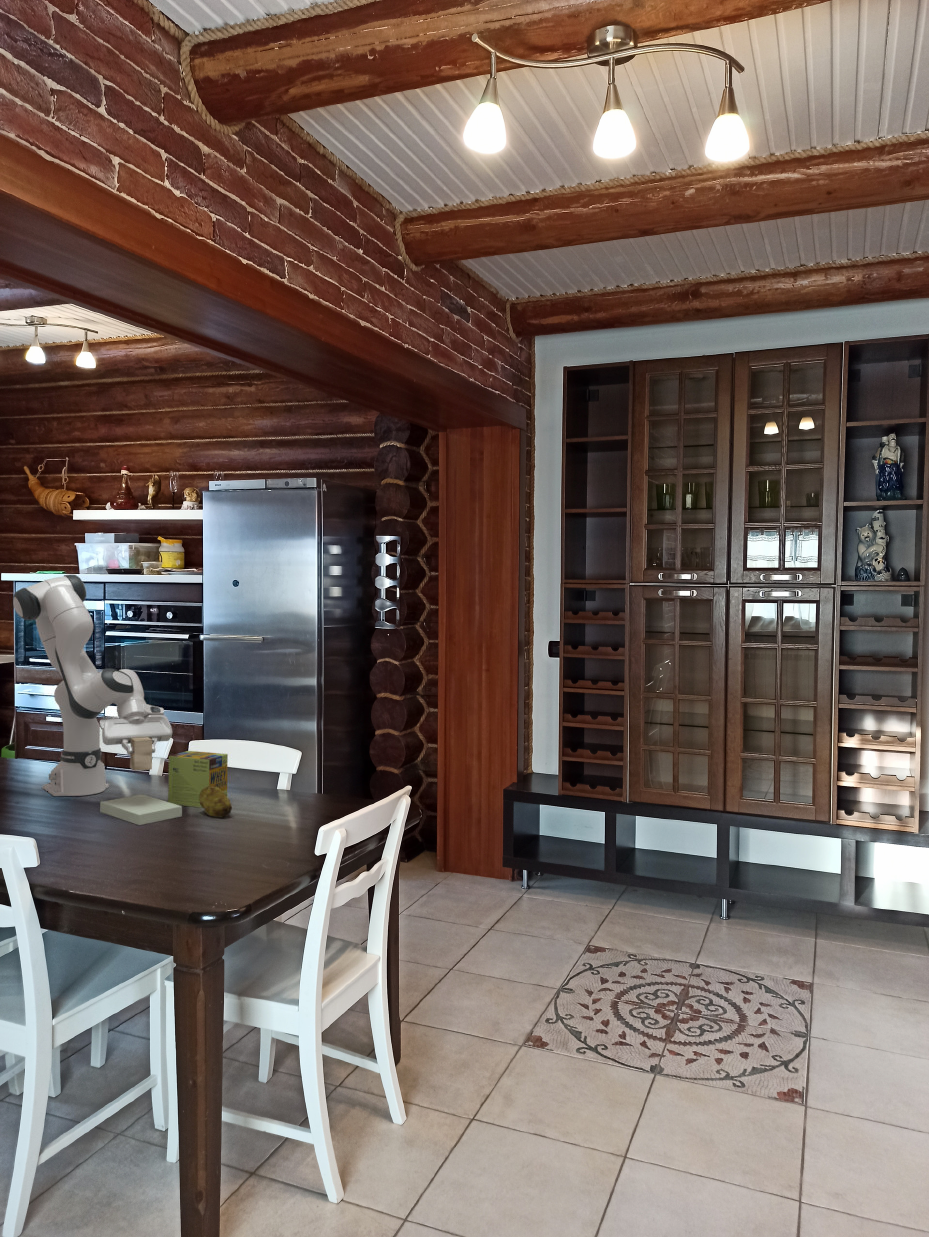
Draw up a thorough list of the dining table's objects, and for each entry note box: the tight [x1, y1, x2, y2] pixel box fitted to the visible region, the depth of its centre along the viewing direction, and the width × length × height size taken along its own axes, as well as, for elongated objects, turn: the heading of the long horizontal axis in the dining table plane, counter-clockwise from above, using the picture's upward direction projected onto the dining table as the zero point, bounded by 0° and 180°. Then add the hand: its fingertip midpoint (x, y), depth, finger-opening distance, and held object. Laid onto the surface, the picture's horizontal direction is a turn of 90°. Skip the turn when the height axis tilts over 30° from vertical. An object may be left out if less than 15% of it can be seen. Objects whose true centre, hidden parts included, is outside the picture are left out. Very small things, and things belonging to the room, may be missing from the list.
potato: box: [199, 786, 233, 818], centre depth 276 cm, size 8×13×8 cm, turn 26°
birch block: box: [129, 737, 153, 772], centre depth 273 cm, size 5×5×9 cm
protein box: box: [167, 750, 228, 809], centre depth 290 cm, size 10×15×16 cm
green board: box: [99, 794, 183, 826], centre depth 274 cm, size 22×14×3 cm, turn 50°
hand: (141, 752), depth 273 cm, fingers closed on birch block, 5 cm apart
